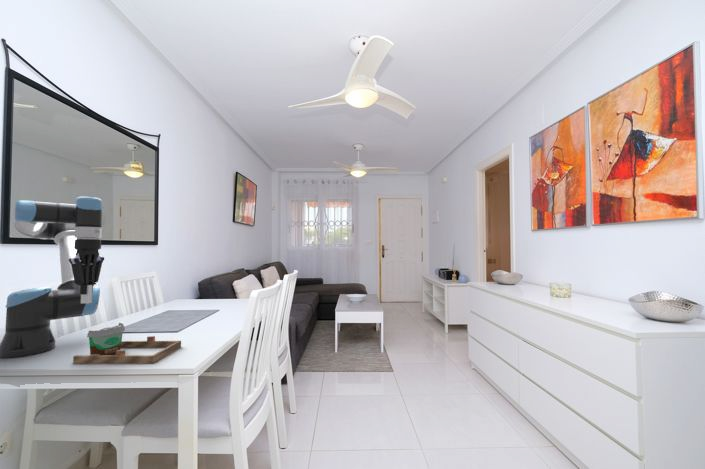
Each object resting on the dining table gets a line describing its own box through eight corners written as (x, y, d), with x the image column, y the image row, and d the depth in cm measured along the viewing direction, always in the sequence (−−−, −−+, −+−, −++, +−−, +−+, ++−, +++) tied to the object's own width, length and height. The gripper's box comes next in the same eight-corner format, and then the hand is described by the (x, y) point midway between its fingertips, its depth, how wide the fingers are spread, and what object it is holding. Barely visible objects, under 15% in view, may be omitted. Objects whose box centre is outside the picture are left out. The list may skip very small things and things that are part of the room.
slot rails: (73, 363, 104) (73, 351, 104) (111, 347, 121) (112, 336, 121) (153, 363, 104) (153, 350, 104) (181, 346, 121) (181, 336, 121)
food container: (100, 361, 106) (101, 332, 106) (86, 360, 107) (87, 331, 107) (132, 349, 118) (133, 323, 118) (119, 348, 119) (120, 322, 119)
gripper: (83, 238, 107) (81, 306, 106) (112, 239, 120) (110, 299, 119) (61, 238, 107) (59, 306, 106) (92, 239, 120) (90, 300, 119)
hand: (86, 302), depth 113 cm, fingers closed
